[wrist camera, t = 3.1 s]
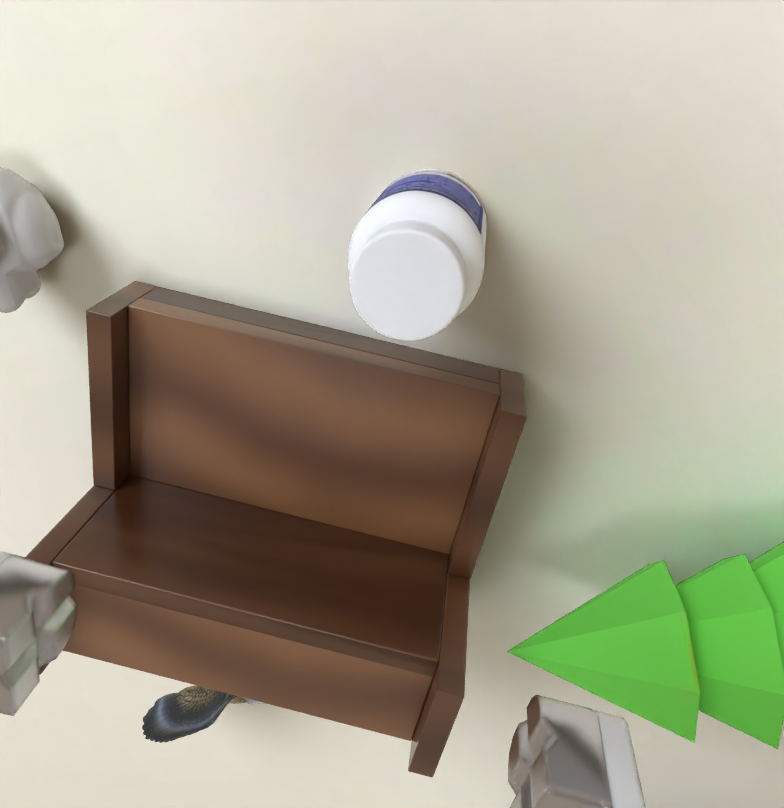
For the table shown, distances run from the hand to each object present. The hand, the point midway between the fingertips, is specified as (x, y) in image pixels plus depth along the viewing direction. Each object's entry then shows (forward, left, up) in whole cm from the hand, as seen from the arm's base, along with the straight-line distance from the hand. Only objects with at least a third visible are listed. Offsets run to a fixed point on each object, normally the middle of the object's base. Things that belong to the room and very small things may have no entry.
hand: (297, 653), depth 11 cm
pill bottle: (0, -2, -22) cm, 23 cm away
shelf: (+4, +12, -22) cm, 25 cm away
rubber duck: (+20, +2, -22) cm, 30 cm away
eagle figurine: (+7, +30, -22) cm, 38 cm away
